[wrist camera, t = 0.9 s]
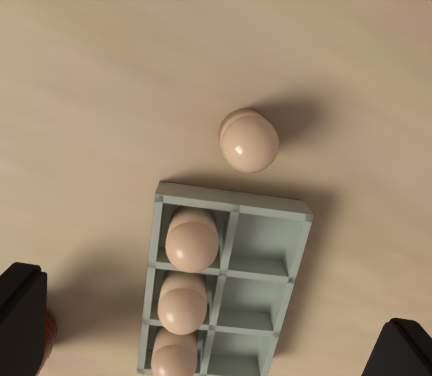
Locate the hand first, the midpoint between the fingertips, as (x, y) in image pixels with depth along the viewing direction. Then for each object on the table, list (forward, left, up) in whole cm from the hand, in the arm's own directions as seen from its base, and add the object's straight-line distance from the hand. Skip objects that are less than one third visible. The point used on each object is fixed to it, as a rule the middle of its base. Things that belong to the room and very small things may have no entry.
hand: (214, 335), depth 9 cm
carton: (+14, +3, -22) cm, 26 cm away
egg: (-2, +3, -22) cm, 22 cm away
